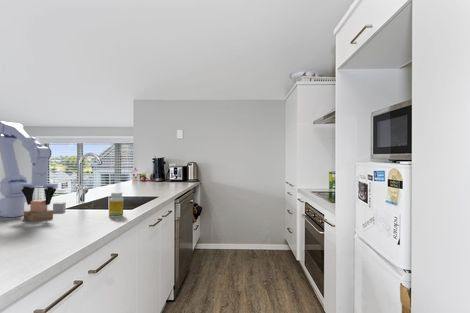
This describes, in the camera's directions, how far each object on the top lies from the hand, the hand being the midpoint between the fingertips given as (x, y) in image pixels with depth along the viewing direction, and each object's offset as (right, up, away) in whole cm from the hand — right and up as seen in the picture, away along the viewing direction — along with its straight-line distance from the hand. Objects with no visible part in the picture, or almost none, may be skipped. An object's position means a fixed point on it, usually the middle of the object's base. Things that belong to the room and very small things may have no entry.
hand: (38, 204), depth 125 cm
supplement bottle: (+30, -8, +9) cm, 32 cm away
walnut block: (0, -7, 0) cm, 7 cm away
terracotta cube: (0, -3, 0) cm, 3 cm away
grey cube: (-2, -7, +18) cm, 19 cm away
